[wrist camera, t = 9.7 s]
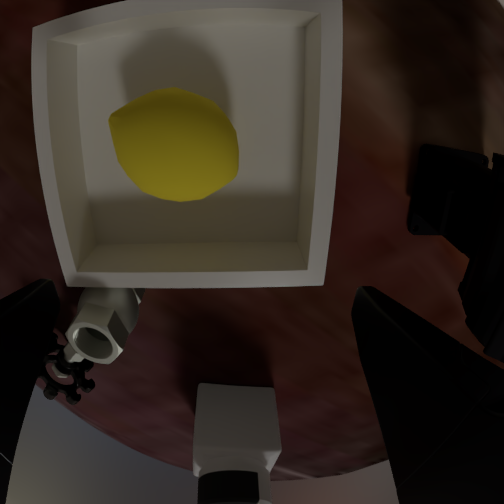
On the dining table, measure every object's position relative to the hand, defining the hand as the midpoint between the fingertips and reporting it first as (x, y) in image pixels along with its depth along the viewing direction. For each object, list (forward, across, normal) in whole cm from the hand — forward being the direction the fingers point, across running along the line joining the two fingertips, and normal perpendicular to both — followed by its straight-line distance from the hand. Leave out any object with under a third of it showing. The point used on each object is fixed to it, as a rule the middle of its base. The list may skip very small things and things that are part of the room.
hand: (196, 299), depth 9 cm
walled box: (+12, +2, -3) cm, 12 cm away
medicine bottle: (+12, -1, +22) cm, 25 cm away
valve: (+12, +10, +10) cm, 19 cm away
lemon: (+11, +2, -3) cm, 12 cm away
